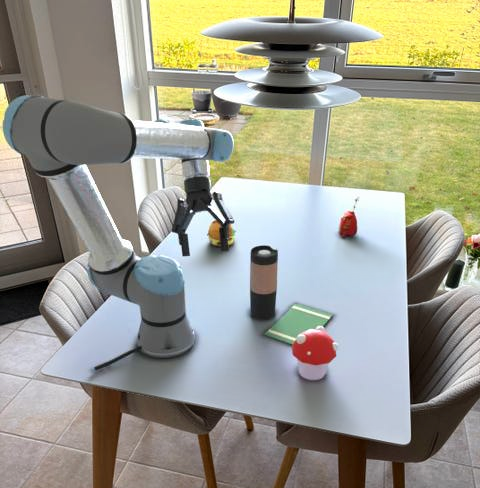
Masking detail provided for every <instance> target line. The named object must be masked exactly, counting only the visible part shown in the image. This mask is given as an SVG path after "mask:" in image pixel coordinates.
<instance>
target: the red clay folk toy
mask: <svg viewBox="0 0 480 488" xmlns="http://www.w3.org/2000/svg"><path fill="white" fill-rule="evenodd" d="M359 198H360V196H358V197H357V198H355V199H354V205H353V208H352V211H351V210H347V211H346V212H344V213H343V216H342V217H340V222H339V224H338V235H339V236H340V237H341V238H344V239H346V238H352V237H354V236H356V235H357V233H358V220H357V216H356V213H355V210H356V205H357V202H358V201H359Z"/></svg>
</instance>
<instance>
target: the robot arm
mask: <svg viewBox="0 0 480 488" xmlns="http://www.w3.org/2000/svg"><path fill="white" fill-rule="evenodd" d="M2 133H3V136H4V139H5V141H6V143H7V145H8V146H9V147H10V148H11V149H12V150H14V151H15V152H16V153H18V154H20V155H23V156H25V157H26V158H27V160H28V162H29V163H30V165H31V167H32V168H33V170H34V172H35V174H36V175H38V176H39V177H41V178H45V179H47V180H48V182H49V184H50V185H51V187H52V189H53V190H54V193H55V194H56V196H57V197H58V199H59V201H60V203H61V205H62V207H63V208H64V211H65V212H66V213H67V215H68V217H69V219H70V221H71V222H72V224H73V226H74V228H75V229H76V231H77V233H78V235H79V236H80V239H81V241H82V242H83V244H84V245H85V247H86V249H87V251H88V253H89V255H88V257H87V262H88V263H87V268H88V269H87V270H86V272H87V278H88V280H89V282H90V284H91V285H92V286H93V287H94V288H95V289H97V290H98V291H100V292H102V293H104V294H105V295H110V296H113V297H115V298H117V299H121V300H124V301H126V302H129V303H132V304H134V305H137V306H138V307H139V310H140V324H139V327H138V333H137V336H136V337H137V338H136V341H137V346H136V347H134V348H132V349H130V350H128V351H126V352H124V353H121V354H120V355H118V356H116V357H114V358H112V359H110V360H108V361H106V362H103V363H101V364H98V365H96V366H94V367H93V369H94V370H95V371H99V370H101V369H104V368H107V367H109V366H110V365H113V364H115V363H117V362H118V361H121V360H123V359H125V358H126V357H129V356H131V355H132V354H135V353H136V352H137V353H138V352H139V351H140V352H141V353H142V354H144V355H145V356H147V357H150V358H154V359H172V358H176V357H179V356H181V355H183V354H185V353H187V352H189V351H190V350H191V349H192V348H193V346H194V345H195V341H196V337H195V336H196V335H195V331H194V328H193V327H192V325H191V322H190V320H189V319H188V316H187V309H186V292H185V291H186V290H185V277H184V274H183V269H182V266H181V264H180V263H179V262H178V261H177V260H175V259H173V258H171V257H169V256H167V255H160V254H159V255H157V256H156V255H155V254H150V255H146V256H143V257H139V256H138V255H137V254H136V252H135V249H134V248H133V246H132V244H131V242H130V241H129V240H126V239H124V238H122V237H121V235H120V233H119V231H118V228H117V226H116V224H115V223H114V220H113V218H112V215H111V214H110V212H109V210H108V207H107V206H106V204H105V201H104V199H103V198H102V195H101V194H100V191H99V189H98V187H97V185H96V184H95V180H94V178H93V177H92V175H91V173H90V170H89V169H88V166H90V165H91V166H92V165H103V164H104V165H105V164H107V165H109V164H125V163H128V162H129V161H131V159H157V160H158V159H159V160H160V159H166V160H167V159H168V160H180V161H181V169H182V170H181V171H182V178H183V179H184V180H183V185H184V186H183V187H184V193H185V196H186V198H185V199H184V198H183V199H182V198H178V199H177V202H176V203H177V205H176V206H177V207H176V211H175V214H174V215H175V216H174V219H173V223H172V227H171V233H174V234H176V235H177V236H178V244H179V246H180V247H181V248H180V249H181V255H182V256H181V257H191V251H190V244H189V243H190V242H189V234H188V233H187V230H188V228H189V226H190V224H191V222H192V220H193V218H194V216H195V215H196V214H199V213H201V212H207V213H209V214H210V215H211V216H212V218H213V219H214V221H215V220H216V221H217V222H218V223H219V224H220V225H221V226H220V227H221V228H219V234H220V243H221V246H220V251H221V252H229V250H230V249H229V246H228V238H229V237H230V235H229V226H230V225H234V224H235V219H234V217H233V216H232V214H231V211H230V210H229V209H228V207H227V205H226V203H225V201H224V200H223V195H222V192H220V191H213V192H211V191H212V184H211V183H212V182H211V178H210V177H209V176H210V165H209V161H214V162H215V163H216V162H221V163H225V162H227V161H228V160H229V159H230V158H231V157H232V154H233V151H234V145H235V143H234V142H235V141H234V138H233V137H234V136H233V135H232V134H231V132H230V131H228V130H223V129H221V128H212V127H206V126H205V124H204V122H203V121H202V120H200V119H194V118H190V119H184V120H181V121H179V122H174V121H171V120H168V119H163V118H159V119H156V120H154V121H147V120H139V119H138V120H137V119H132V118H131V117H129V116H128V115H127V114H125V113H122V112H116V111H111V110H107V109H102V108H100V107H97V106H92V105H90V104H86V103H83V102H80V101H75V100H67V99H59V98H52V97H45V96H43V95H40V94H33V95H29V94H28V95H20V96H18V97H16V98H14V99H13V100H12V101H11V102H10V103H9V104H8V106H7V107H6V109H5V111H4V116H3V120H2ZM212 201H214V203H215V205H216V206H217V208H216V207H215V206H214V205H213V203H212ZM217 209H218V210H219V211H218V210H217Z"/></svg>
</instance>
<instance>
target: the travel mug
mask: <svg viewBox="0 0 480 488" xmlns="http://www.w3.org/2000/svg"><path fill="white" fill-rule="evenodd" d="M249 257H250V259H249V260H250V261H249V262H250V263H249V304H250V315H251V316H252V317H253V318H254V319H257V320H264V321H265V320H270V319H272V318H273V317H274V316H275V314H276V307H277V306H276V304H277V294H278V293H277V291H278V265H279V264H278V263H279V262H278V261H279V260H278V259H279V250H278V249H277V248H276V249H274V248H273V247H271V246H270V245H266V244H265V245H257V246H254V247H253V248H251V249H250V255H249Z"/></svg>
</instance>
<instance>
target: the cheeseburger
mask: <svg viewBox="0 0 480 488" xmlns="http://www.w3.org/2000/svg"><path fill="white" fill-rule="evenodd" d="M220 226H221V225H220V224H219V223H218V222H217V221H216V220H215V219H214V220H213V221H212V222H211V223H210V225H209V227H208V230H207V233H206V236H207V239H208V240H209V243H210V244H211V245H213V246H216V247H221V243H220V234H219V228H221V227H220ZM236 232H237V230H235V229H234V228H233V224H231V225H230V226H229V235H230V237H229V238H228V247H229V246H232V245H233V244H234V243H235V238H236Z"/></svg>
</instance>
